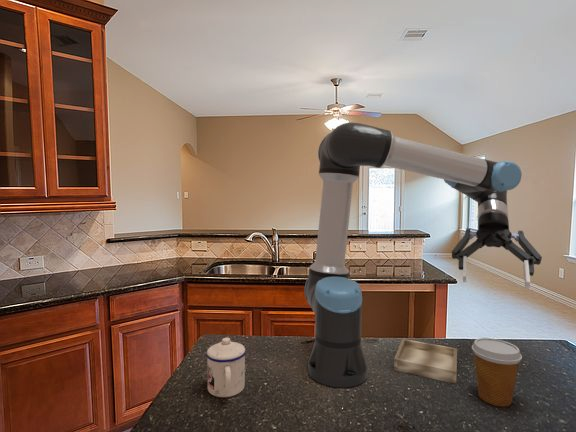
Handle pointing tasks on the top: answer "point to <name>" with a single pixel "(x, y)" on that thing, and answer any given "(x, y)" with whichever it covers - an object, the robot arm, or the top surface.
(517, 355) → the disposable coffee cup
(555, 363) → the top surface
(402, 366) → the birch tray
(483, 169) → the robot arm
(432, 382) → the top surface
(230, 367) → the teacup with lid
